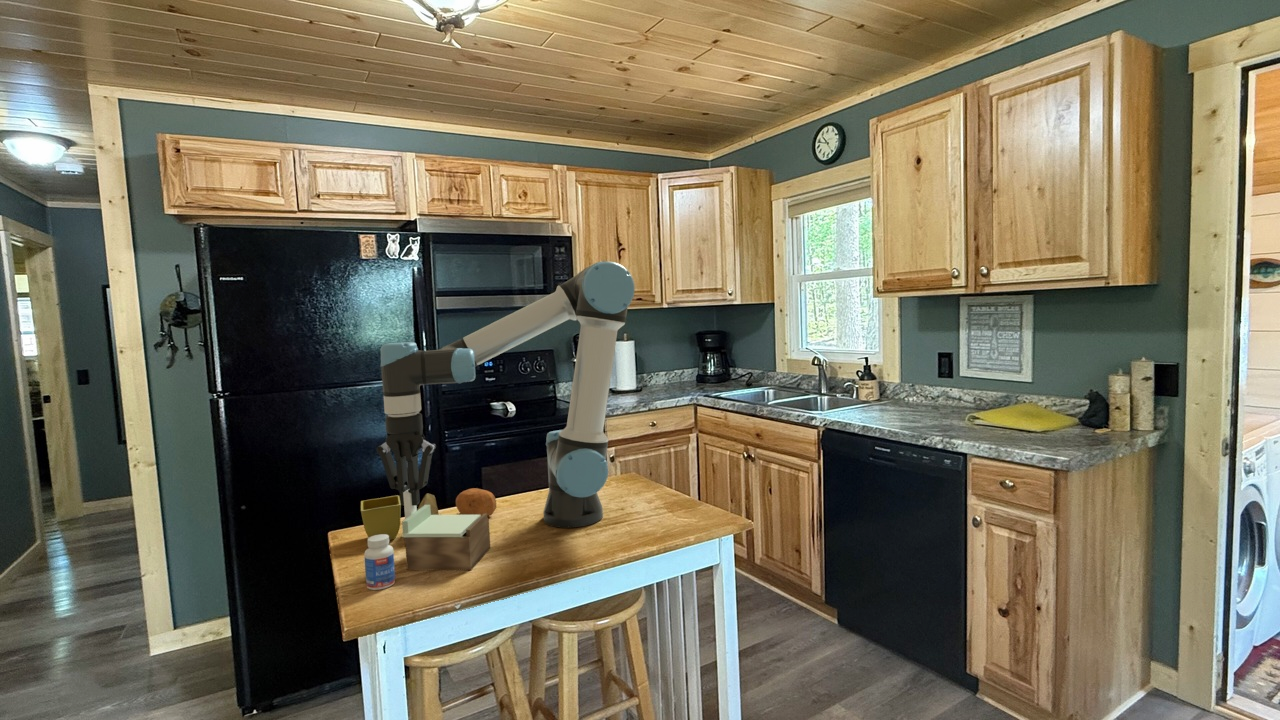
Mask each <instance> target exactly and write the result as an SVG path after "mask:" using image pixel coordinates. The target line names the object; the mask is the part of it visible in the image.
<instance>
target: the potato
mask: <svg viewBox="0 0 1280 720" xmlns="http://www.w3.org/2000/svg"><path fill="white" fill-rule="evenodd" d="M455 507H456V509H457V510H458V512H459V513H460V514H459V515H482V514H484V513H487V517H490V516H492V515H493V514H494V512H495V511H496V509H497V499H496V497H495V495H494V493H492V492H491V491H489V490H486V489H481V488H478V487H476V488H474V487H473V488H468V489H466V490H462V492H459V494H458V495H457V496H456V498H455Z"/></svg>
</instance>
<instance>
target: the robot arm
mask: <svg viewBox="0 0 1280 720" xmlns="http://www.w3.org/2000/svg"><path fill="white" fill-rule="evenodd" d="M635 289H636V288H635V281H634V278H633V276H632V275H631V273H630V271H629V270H628V269H627V268H626V267H624V266H623V265H622V264H620V263H618V262H614V261H605V260H601V261H599V262H595V263H593V264H592V265H589V266H587V267H585V268H584V269H582V270H581V271H580V272H578V273H577V274H576V275H574V276H573V277H571V278H570V279H568V280H567V281H564V282H563V283H561V284H559V285H557V286H556V289H555V291H554V292H552V293H550V294H548V295H546V296H544V297H542V298H540V299H538V300H536V301H534V302H531V303H530V304H528V305H526V306H524V307H522V308H520V309H518V310H516V311H514V312H512V313H510V314H507V315H506V316H504V317H502V318H500V319H498V320H495V321H494V322H492V323H490V324H488V325H486V326H483V327H481V328H480V329H478V330H476V331H474V332H472V333H470V334H468V335H465V336H464V337H462V338H460V339H457V340H456V341H454V342H452V343H450V344H447V345H444V346H441V347H440V348H439V349H433V350H432V349H431V350H419V348H418V346H417V343H416V342H414V341H406V342H405V341H404V342H401V341H400V342H391V343H389V342H388V343H385V344H383V345H382V346H381V348H380V364H379V365H380V370H381V371H380V372H381V381H382V392H383V393H382V395H383V408H384V414H385V415H386V417H384V419H385V420H384V421H385V432H386V438H385V442H383V443H382V444H381V445H378V446H377V447H375V452H376V453H377V454H378V456H379V457H380V460H381V462H382V466H383V469H384V471H385V474H386V478H387V482H388V484H389V488H390V489H391V490H397V491H398V492H399V498H400V504H401V507H402V506H404V507H403V508H404V518H405V519H406V518H408V517H409V516H410V515H412V514H413V513H414V512H416V511H417V509H418V508H417V507H418V506H419V505H420V503H421V499H420V490H421V489H423V488H424V487H425V486H427V485H428V481H429V477H430V476H429V475H430V471H431V465H432V457H433V453H434V452H435V450H436V448H437V445H436V443H430V442H429V441H427V439H426V436H425V435H424V432H423V430H424V424H423V414H422V413H421V411H422V399H421V398H422V397H421V389H420V387H421V386H428V385H441V384H442V385H444V384H462V383H467V382H468V383H469V382H473V381H475V379H476V376H477V375H476V367H477V366H479V365H481V364H483V363H485V362H487V361H490V360H491V359H492V358H495V357H497V356H499V355H500V354H503V353H505V352H507V351H509V350H511V349H512V348H515V347H517V346H519V345H521V344H523V343H525V342H527V341H529V340H531V339H532V338H535V337H537V336H538V335H540V334H543V333H544V332H547V331H548V330H550V329H552V328H555V327H557V326H559V325H561V324H562V323H564V322H566V321H569V320H571V321H578V322H579V324H580V330H579V337H578V343H577V351H576V358H575V365H574V373H573V377H572V378H573V379H572V387H571V392H570V393H571V394H570V399H569V408H568V415H567V420H566V421H567V422H566V426H565V427H564V428H563V429H559V430H553V431H549V432H547V434H546V442H545V446H546V454H547V474H548V493H547V497H546V501H545V505H544V509H543V521H544V523H545V524H546V525H548V526H550V527H555V528H561V529H562V528H563V529H565V528H567V529H569V528H570V529H572V528H579V527H580V528H581V527H586V526H589V525H593V524H596V523H597V522H599V521H601V520H602V518H603V517H604V512H603V510H604V508H603V505H602V503H601V500H600V499H601V498H600V497H599V495H598V492H599V491H600V490H601V489H602V488H603V487H604V486H605V484H606V483H607V480H608V476H609V465H608V461H607V460H606V459H607V453H608V444H609V438H608V436H607V435H606V434H605V432H604V428H605V427H604V426H605V421H606V413H607V406H608V400H609V399H608V398H609V392H610V385H611V378H612V371H613V363H614V358H615V352H616V351H615V350H616V343H617V337H618V331H619V330H620V329H621V328H622V327H623V326H625V324H626V322H627V321H626V320H627V314H628V307H629V306H630V305H631V303H632V301H633V299H634V296H635V292H636V291H635ZM420 450H421V451H422V455H421V460H420V467H419V457H420V455H419V452H420ZM392 452H393V454H394V456H393V454H392ZM405 519H404V520H405Z"/></svg>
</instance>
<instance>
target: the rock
mask: <svg viewBox="0 0 1280 720" xmlns="http://www.w3.org/2000/svg"><path fill="white" fill-rule="evenodd" d="M424 505H430V508H431V515H440V514H439V508H438V504H437V500H436V497H435V495H434V494H431V493H425V495H424V496H423V498H422V500H421V501H420V502H419V504H418V508H417V510H419V509H420V508H421V507H423V506H424Z"/></svg>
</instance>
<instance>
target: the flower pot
mask: <svg viewBox="0 0 1280 720" xmlns="http://www.w3.org/2000/svg"><path fill="white" fill-rule="evenodd" d="M401 509H402V506H401V504H400V495H398V494H397V495H396V494H395V495H391V496H385V497H380V498H379V497H378V498H371V499H366V500H361V501H360V513H361V518H362V519H361V520H362V523H363V528H364V531H365V533H366V535H367V538H369V537H371V536H374V535H379V534H386V535H388V536H389V541H391V540H395V539H396V538H397V536H398V534H399V531H400V528H401Z"/></svg>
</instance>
